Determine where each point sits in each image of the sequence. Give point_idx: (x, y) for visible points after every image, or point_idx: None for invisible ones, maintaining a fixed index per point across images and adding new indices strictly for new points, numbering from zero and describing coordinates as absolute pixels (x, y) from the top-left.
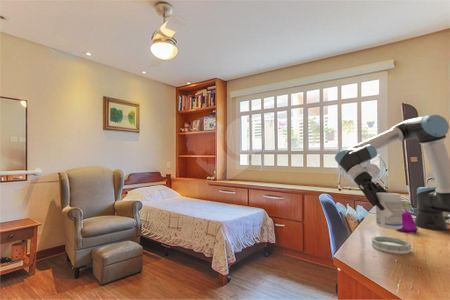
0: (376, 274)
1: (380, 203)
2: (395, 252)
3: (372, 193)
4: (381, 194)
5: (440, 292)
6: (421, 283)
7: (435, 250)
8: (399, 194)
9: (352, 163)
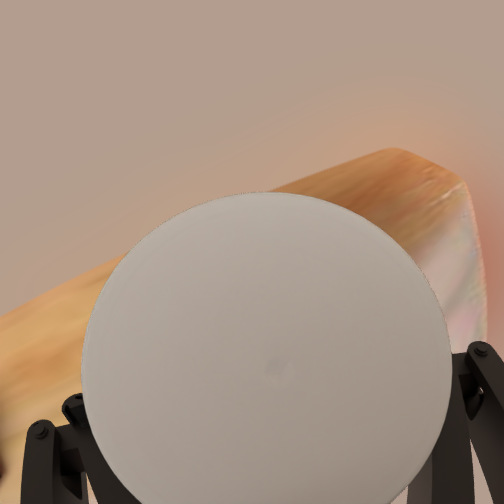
0: (459, 239)
1: None
2: None
3: (465, 469)
4: (448, 339)
5: (394, 151)
6: (400, 178)
7: None
8: (197, 213)
9: None
